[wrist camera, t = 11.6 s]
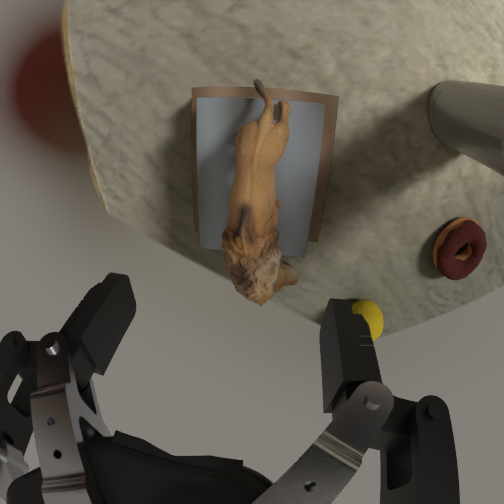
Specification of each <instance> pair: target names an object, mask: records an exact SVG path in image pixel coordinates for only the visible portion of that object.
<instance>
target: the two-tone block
mask: <svg viewBox="0 0 504 504" xmlns="http://www.w3.org/2000/svg"><path fill="white" fill-rule="evenodd" d="M264 90H265V91H266V93H268V95H269V96H270V97H271V98H272V100H273V103H274V112H273V123H276V122H277V120H278V115H277V113H276V106H277V103H278V102H279V101H280V100H284V101H287V102H288V103H289V105H290V109H291V112H290V113H289V140H288V142H287V145H286V149H285V151H284V153H283V155H282V157H281V158H280V159H279V161H278V162H277V164H276V166H275V167H274V172H275V187H276V197H277V198H278V199H279V200H280V202H281V206H280V207H279V209H278V219H277V220H278V221H277V229H278V232H279V241H278V246H279V247H280V249H281V256H290V257H301V258H304V257H305V251H306V246H307V241H312V242H318V239H319V233H320V228H321V222H322V217H323V211H324V205H325V199H326V193H327V187H328V180H329V174H330V167H331V160H332V153H333V145H334V137H335V129H336V120H337V111H338V101H339V97H338V96H332V95H326V94H319V93H311V92H303V91H294V90H284V89H271V88H264ZM264 107H265V101H264V100H263V98H262V97H261V96H260V95H259V94H258V93H257V92H256V89H255V88H254V87H195V88H192V178H193V204H194V223H195V231H199V235H200V248H205V249H215V250H223V249H222V246H221V245H222V234H223V231H224V229H225V228H226V227H227V221H228V218H229V216H230V211H229V200H230V192H231V188H232V183H233V179H234V175H235V171H236V149H235V141H236V135H237V133H238V131H239V129H240V128H241V127H242V126H244V125H245V124H247V123H248V122H252V121H259V119H260V117H261V115H262V113H263V110H264Z"/></svg>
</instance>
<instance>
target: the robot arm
mask: <svg viewBox="0 0 504 504" xmlns="http://www.w3.org/2000/svg"><path fill="white" fill-rule="evenodd" d="M428 115H429V121H430V124H431V127H432V129H433V131H434V133H435V135H436V136H437V138H438V139H439V140H440V141H441V142H442V143H443V144H445V145H447V146H448V147H450V148H452V149H454V150H457V151H459V152H461V153H463V154H464V155H466V156H468V157H470V158H472V159H474V160H476V161H478V162H480V163H482V164H483V165H485V166H487V167H489V168H491V169H492V170H494V171H496V172H498V173H499V174H501V175H503V176H504V86H499V85H492V84H484V83H476V82H466V81H452V80H451V81H444V82H441V83H440V84H438V85H437V86H436V87H435V88H434V90H433V91H432V93H431V96H430V98H429V103H428ZM135 312H136V301H135V298H134V294H133V291H132V287H131V283H130V280H129V277H128V276H127V275H124V274H118V273H109V274H108V275H107V276H106V278H105V279H104V280H103V282H102V283H98V284H97V285H95V286H94V287H93V288H91V289H90V290H89V291H88V293H87V294H86V295H85V297H84V298H83V300H82V301H81V302H80V304H79V305H78V307H77V308H76V309H75V310H74V312H73V313H72V314H71V316H70V317H69V318H68V320H67V321H66V323H65V324H64V326H63V327H62V329H61V330H60V331H59V332H51V333H48V334H46V335H45V336H43V338H41V340H40V341H26V339H25V338H24V336H23V335H22V333H21V332H19V331H12V332H9V333H8V334H6V335H5V336H4V337H3V339H2V340H1V342H0V497H1V498H3V499H4V500H5V501H6V503H7V504H331V503H332V502H333V501H334V499H335V498H336V497H337V496H338V495H339V493H340V492H341V491H342V490H343V489H344V487H345V486H346V485H347V483H348V482H349V481H350V480H351V478H352V477H353V476H354V474H355V473H356V471H357V470H358V468H359V467H360V465H361V463H362V461H361V459H362V457H363V456H364V454H365V453H366V451H367V450H368V448H372V449H377V450H380V458H381V490H380V504H460V495H459V478H458V467H457V458H456V450H455V443H454V436H453V432H452V431H453V430H452V425H451V420H450V414H449V410H448V407H447V405H446V403H445V402H444V401H443V400H442V399H441V398H439V397H437V396H433V395H429V396H425V397H423V398H422V399H421V400H419V402H414V401H409V400H406V399H401V398H398V397H396V396H394V395H393V394H392V392H391V391H390V389H389V388H387V386H385V385H384V384H383V383H382V380H381V375H380V371H379V366H378V361H377V357H376V352H375V348H374V347H373V345H374V344H373V340H372V337H371V331H370V327H369V324H368V323H367V321H366V320H365V319H364V317H363V316H362V315H361V314H353V310H352V306H351V302H350V300H346V299H332V298H331V299H330V300H329V302H328V305H327V308H326V312H325V315H324V318H323V321H322V325H321V329H320V354H321V369H322V387H323V409H324V413H332V417H333V420H332V422H331V423H330V424H329V425H328V427H327V428H326V429H325V430H324V431H323V433H322V434H321V435H320V436H319V437H318V438H317V439H316V440H315V441H314V443H313V444H312V445H311V446H310V447H309V448H308V449H307V450H306V452H305V453H304V454H303V455H302V456H301V457H300V458H299V459H298V460H297V461H296V462H295V463H294V464H293V466H291V467H290V468H289V469H288V470H287V472H285V473H284V474H283V475H282V476H281V477H280V478H279V479H278V480H277V481H276V482H275V483H274V484H273V483H272V482H271V481H270V480H269V479H268V478H266V477H265V476H264V475H262V474H260V473H259V472H257V471H254V470H252V469H250V468H248V467H245V466H243V460H236V459H228V458H221V457H215V456H209V455H208V456H173V455H171V454H169V453H167V452H165V451H163V450H161V449H159V448H157V447H155V446H154V445H152V444H150V443H149V442H147V441H145V440H143V439H140V438H137V437H134V436H131V435H128V434H125V433H122V432H119V431H117V430H116V431H115V434H114V436H111V434H110V432H109V430H108V428H107V426H106V425H105V423H104V421H103V419H102V416H101V412H100V409H99V405H98V401H97V397H96V393H95V388H94V384H93V380H92V378H91V377H92V375H93V373H97V374H100V375H104V373H105V371H106V369H107V367H108V365H109V363H110V361H111V359H112V357H113V355H114V353H115V351H116V349H117V348H118V345H119V344H120V342H121V340H122V338H123V336H124V334H125V332H126V330H127V329H128V327H129V325H130V323H131V321H132V320H133V318H134V315H135ZM17 374H18V375H19V376H20V377H21V378H22V382H21V384H20V386H19V388H18V390H17V392H16V394H15V396H14V398H13V401H12V403H11V404H10V403H9V402H8V399H7V394H8V391H9V389H10V387H11V385H12V383H13V381H14V379H15V377H16V376H17ZM33 430H34V437H35V443H36V448H37V453H38V459H39V463H40V467H38V468H37V469H35V470H32V471H30V472H28V471H29V466H28V464H27V463H26V462H25V461H24V454H25V451H26V448H27V446H28V443H29V440H30V437H31V435H32V432H33ZM27 472H28V473H27ZM24 473H26V474H24Z"/></svg>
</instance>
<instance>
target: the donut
mask: <svg viewBox="0 0 504 504" xmlns="http://www.w3.org/2000/svg"><path fill="white" fill-rule="evenodd" d="M466 243H468V245H467V248H466V250H465V251H463V252H462V253H460V254H457V255H455V254H456V252H457V251H458V250H459V249H460V248H461V247H462V246H463V245H464V244H466ZM486 247H487V242H486V237H485V232H484V231H483V230H482V228H481V227H480V226H479V224H478V223H477V222H476V221H475V220H473V219H471V218H466V217H461V218H458V219H455V220H454V221H453V222H451V223H450V224H449V225H448V226H447V227H446V228H445V229H444V230H443V231H442V232H441V233H440V234H439V236H438V238H437V240H436V242H435V245H434V249H433V261H434V265H435V267H436V268H437V269H438V270H439V271H440V272H441V273H442V274H443V275H444V276H445V277H447V278H448V279H451V280H452V281H453V280H459V279H463V278H466V276H468V275H469V274H470V273H472V271H473V270H474V269H475V268H476V267H477V266H478V265H479V263H480V261H481V260H482V257H483V254H484V252H485V250H486Z"/></svg>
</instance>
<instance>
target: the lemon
mask: <svg viewBox="0 0 504 504" xmlns="http://www.w3.org/2000/svg"><path fill="white" fill-rule="evenodd" d="M352 310H353V314H361V315H362V316H363V317H364V319H365V320H366V321H367V323H368V324H369V327H370V331H371V337H372V340H373V341H374V340H375V339H377V338H378V337H379V336H380V334H381V332H382V329H383V315H382V312H381V310H380V308H379V307H378V305H376V304H375V303H374V302H372V301H370V300H360V301H357V302H356V303H354V304H353V305H352Z"/></svg>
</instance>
